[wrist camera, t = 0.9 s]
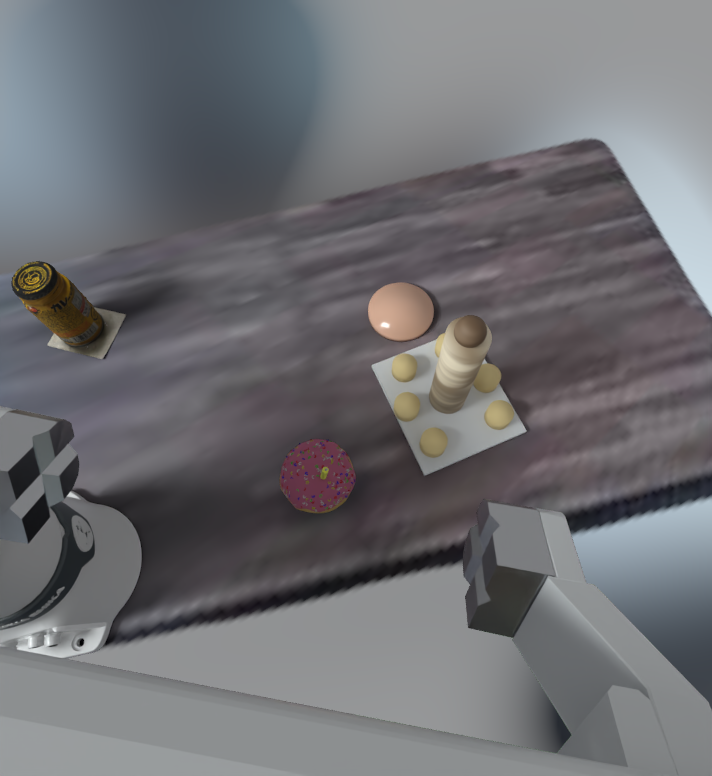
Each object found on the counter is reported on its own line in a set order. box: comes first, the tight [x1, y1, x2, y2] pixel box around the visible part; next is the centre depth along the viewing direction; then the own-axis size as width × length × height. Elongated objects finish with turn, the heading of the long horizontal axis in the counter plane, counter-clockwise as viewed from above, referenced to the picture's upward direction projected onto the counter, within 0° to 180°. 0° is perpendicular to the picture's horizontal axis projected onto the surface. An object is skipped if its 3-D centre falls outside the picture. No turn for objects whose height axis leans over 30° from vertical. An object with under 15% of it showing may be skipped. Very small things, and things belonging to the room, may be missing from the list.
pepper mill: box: [429, 315, 492, 414], centre depth 58 cm, size 5×5×19 cm
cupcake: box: [280, 439, 356, 513], centre depth 58 cm, size 9×8×12 cm
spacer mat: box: [372, 333, 527, 476], centre depth 66 cm, size 14×16×3 cm
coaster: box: [368, 283, 434, 342], centre depth 72 cm, size 9×9×1 cm
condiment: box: [11, 261, 126, 359], centre depth 67 cm, size 7×8×12 cm
